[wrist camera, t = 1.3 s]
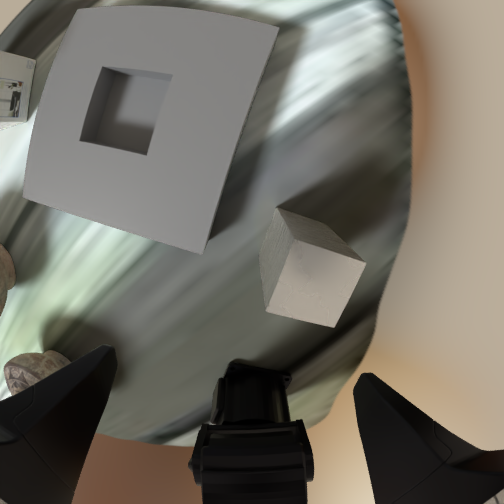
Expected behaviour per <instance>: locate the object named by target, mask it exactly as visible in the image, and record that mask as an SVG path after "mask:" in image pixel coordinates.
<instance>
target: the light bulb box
mask: <svg viewBox="0 0 504 504" xmlns="http://www.w3.org/2000/svg"><path fill="white" fill-rule="evenodd" d="M35 64H36V60H34V59H30V58H27V57H23V56H19V55H16V54H11V53H8V52H3V51H0V131H1V130H4V129H7V128H10V127H12V126H16V125H19V124H22V123H25V122H27V115H28V106H29V98H30V91H31V85H32V79H33V74H34V69H35Z"/></svg>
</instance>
